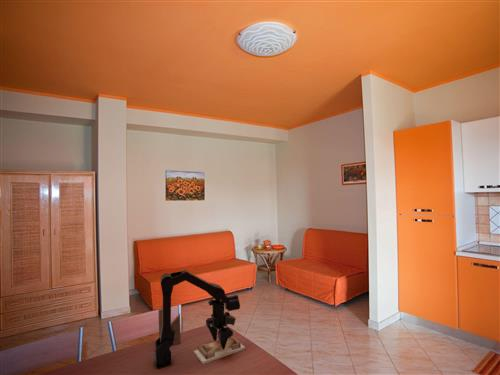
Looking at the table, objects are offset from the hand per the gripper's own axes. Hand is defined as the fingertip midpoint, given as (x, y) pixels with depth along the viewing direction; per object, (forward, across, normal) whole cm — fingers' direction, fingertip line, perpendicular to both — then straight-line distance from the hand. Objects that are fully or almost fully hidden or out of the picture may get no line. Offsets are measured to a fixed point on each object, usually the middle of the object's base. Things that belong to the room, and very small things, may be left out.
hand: (219, 344), depth 142 cm
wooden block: (+3, +22, +18) cm, 28 cm away
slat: (+2, 0, 0) cm, 2 cm away
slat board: (+3, 0, 0) cm, 3 cm away
